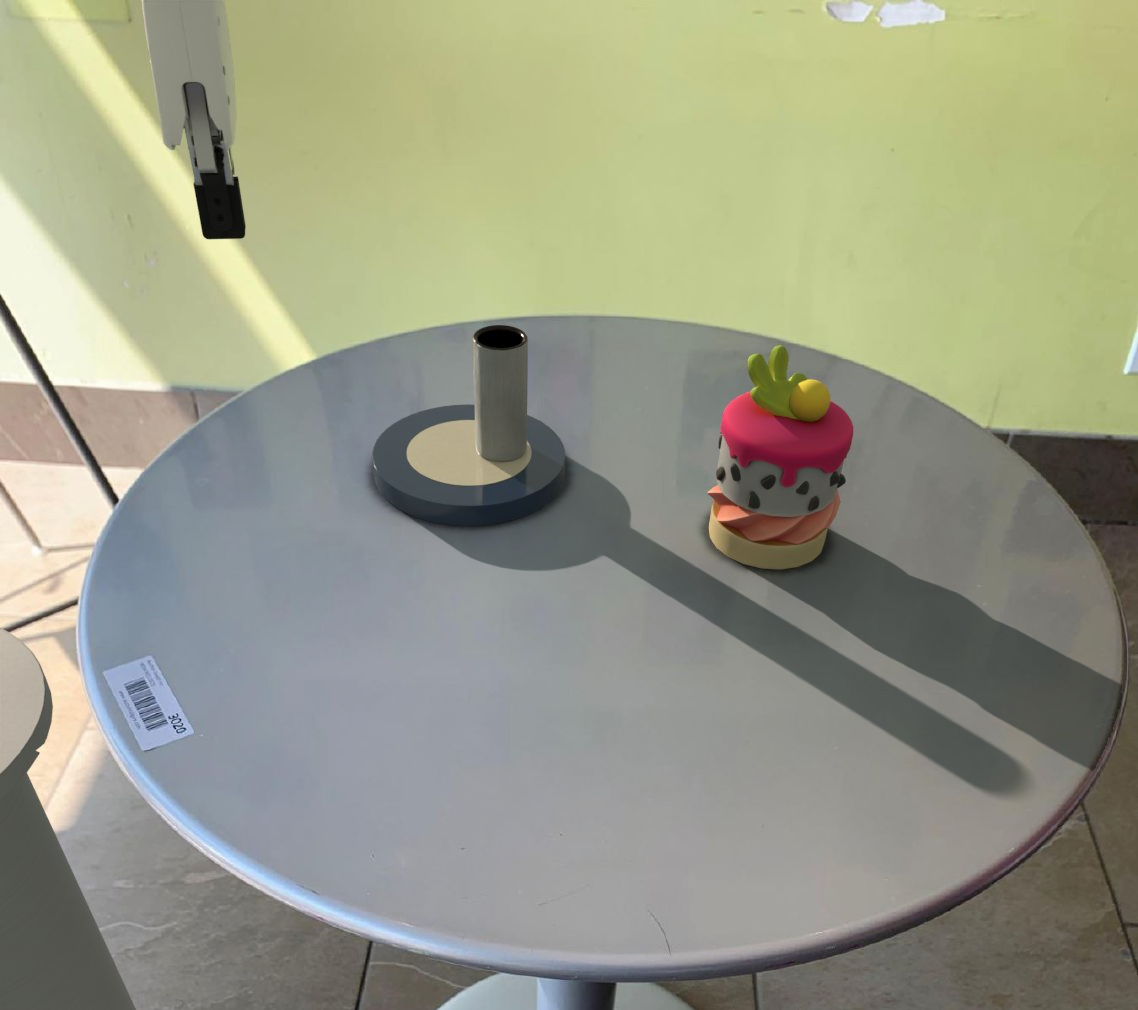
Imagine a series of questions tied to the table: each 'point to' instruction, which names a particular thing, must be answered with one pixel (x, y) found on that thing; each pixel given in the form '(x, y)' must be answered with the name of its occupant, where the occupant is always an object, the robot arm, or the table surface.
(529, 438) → the plate
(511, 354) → the planter
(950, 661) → the table surface
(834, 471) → the cake
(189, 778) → the table surface
